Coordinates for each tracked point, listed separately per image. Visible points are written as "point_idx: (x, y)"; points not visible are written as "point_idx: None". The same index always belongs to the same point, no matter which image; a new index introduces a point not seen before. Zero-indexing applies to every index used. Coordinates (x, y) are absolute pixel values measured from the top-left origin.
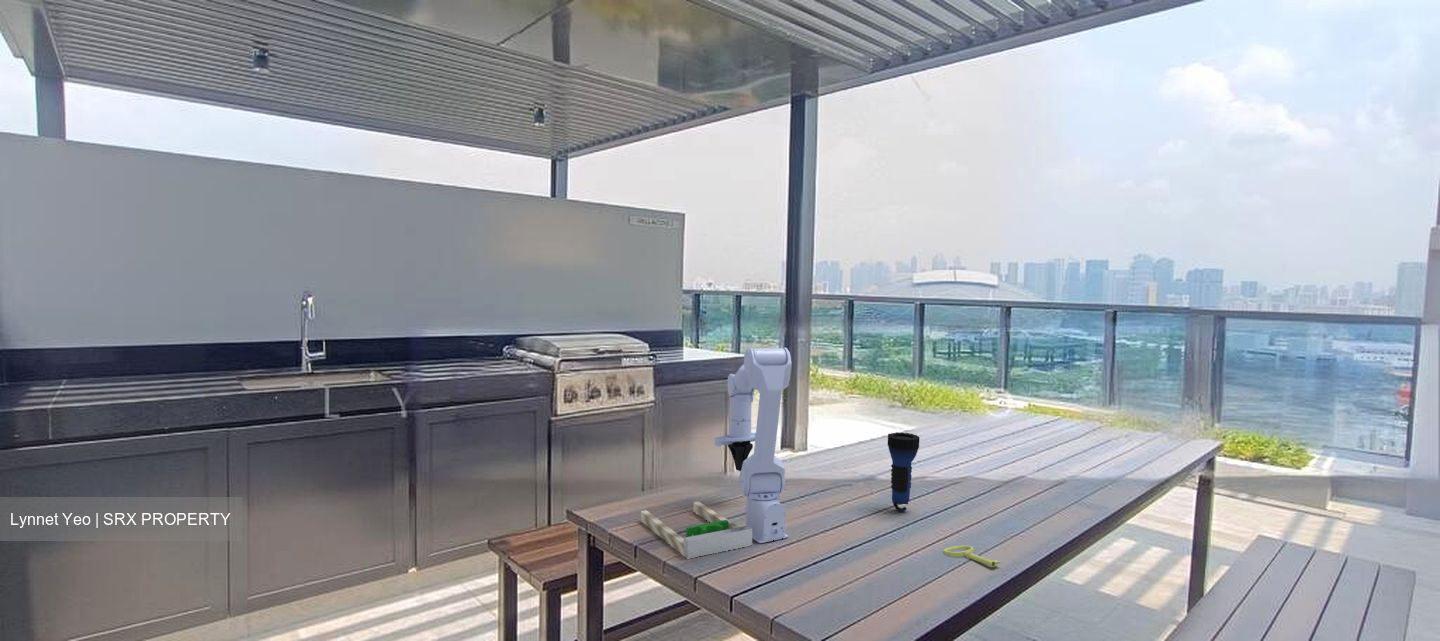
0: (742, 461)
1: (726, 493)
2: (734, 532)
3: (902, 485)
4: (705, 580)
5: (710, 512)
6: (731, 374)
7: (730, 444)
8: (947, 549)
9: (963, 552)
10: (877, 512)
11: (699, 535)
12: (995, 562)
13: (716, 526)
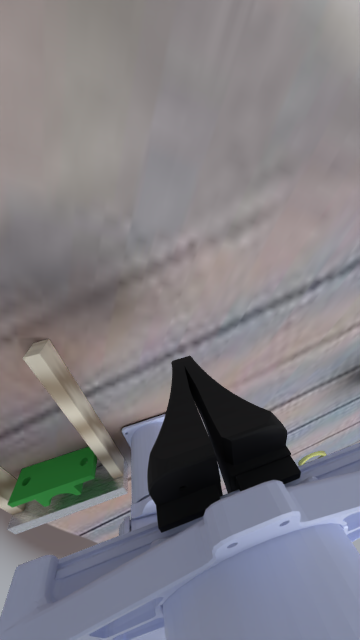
0: (198, 408)
1: (158, 203)
2: (96, 503)
3: None
4: (52, 524)
5: (69, 415)
6: None
7: (157, 506)
8: (307, 459)
9: None
10: (345, 374)
11: (35, 520)
12: None
13: (69, 491)
